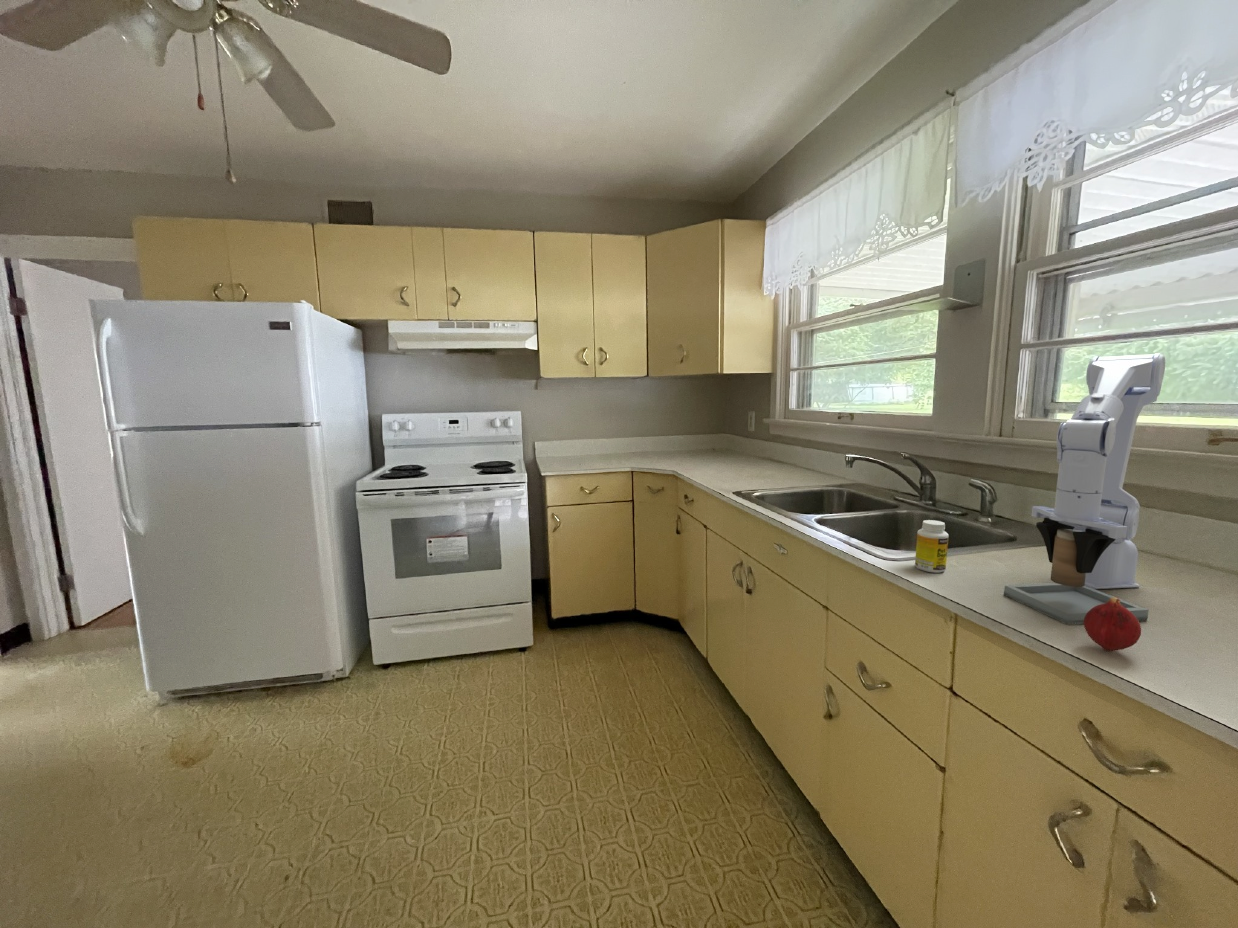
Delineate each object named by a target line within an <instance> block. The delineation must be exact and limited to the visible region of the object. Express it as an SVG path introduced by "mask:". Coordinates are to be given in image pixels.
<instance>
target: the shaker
mask: <svg viewBox="0 0 1238 928" xmlns="http://www.w3.org/2000/svg"><path fill="white" fill-rule="evenodd" d="M1073 532H1082V531H1078V530H1071V529H1058V530H1057V535H1055V542H1054V551H1053V560H1052V563H1051V571H1050V581H1052V583H1057V584H1061V585H1065V586H1071V587H1083V586H1084V585H1085V577H1086V573H1079V572H1077V570H1076V559H1077V548H1076V543H1075V539H1074V536H1073Z"/></svg>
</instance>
